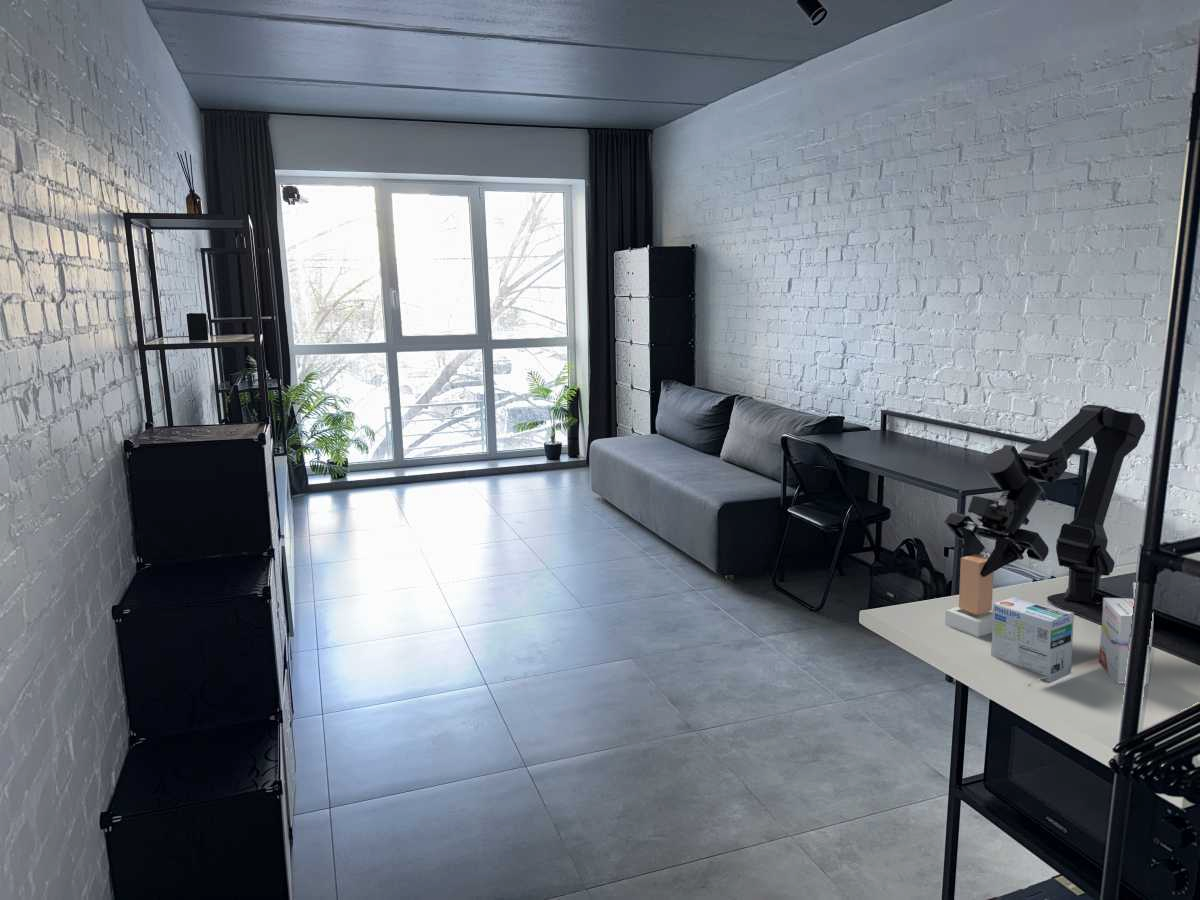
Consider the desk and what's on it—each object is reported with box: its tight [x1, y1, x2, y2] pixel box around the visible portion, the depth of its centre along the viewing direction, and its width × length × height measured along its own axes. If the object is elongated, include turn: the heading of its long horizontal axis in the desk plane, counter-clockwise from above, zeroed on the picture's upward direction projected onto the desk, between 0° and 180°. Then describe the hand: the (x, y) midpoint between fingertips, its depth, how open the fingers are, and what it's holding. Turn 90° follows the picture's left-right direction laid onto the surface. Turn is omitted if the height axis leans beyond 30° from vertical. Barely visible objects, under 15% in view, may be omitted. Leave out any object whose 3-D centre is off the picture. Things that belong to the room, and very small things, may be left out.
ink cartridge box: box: [1098, 581, 1155, 686], centre depth 140 cm, size 9×5×15 cm, turn 168°
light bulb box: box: [990, 595, 1075, 684], centre depth 144 cm, size 11×7×11 cm, turn 32°
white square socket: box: [944, 605, 993, 638], centre depth 160 cm, size 7×7×3 cm
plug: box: [958, 554, 995, 614], centre depth 159 cm, size 4×4×10 cm
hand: (971, 572), depth 158 cm, fingers closed on plug, 4 cm apart
